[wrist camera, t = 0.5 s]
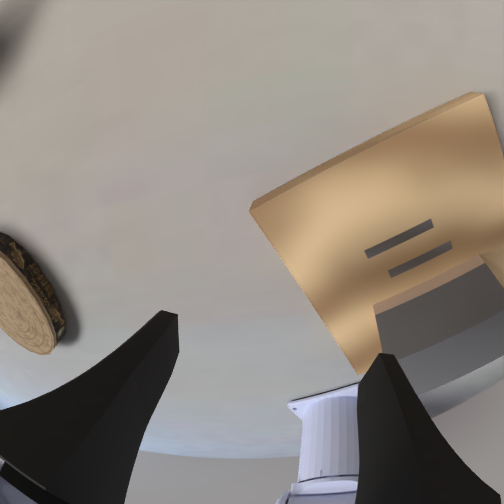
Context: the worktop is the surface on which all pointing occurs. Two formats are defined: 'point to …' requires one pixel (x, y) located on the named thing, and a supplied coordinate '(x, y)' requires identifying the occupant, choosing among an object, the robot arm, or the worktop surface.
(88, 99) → the worktop surface
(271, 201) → the oak board
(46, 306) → the wood log slice
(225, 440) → the worktop surface
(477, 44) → the worktop surface
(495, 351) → the block
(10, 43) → the worktop surface
